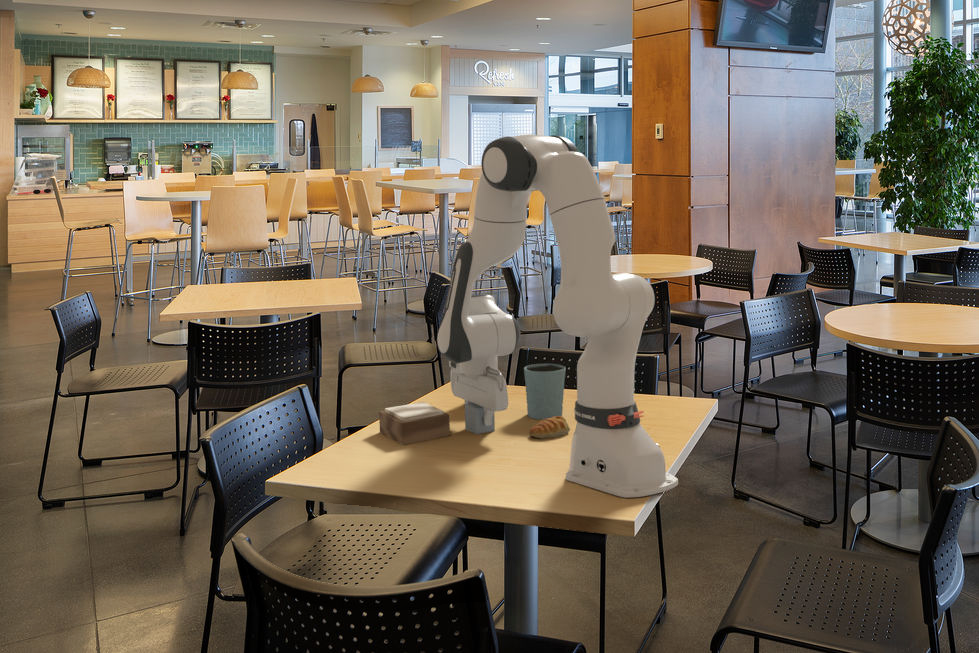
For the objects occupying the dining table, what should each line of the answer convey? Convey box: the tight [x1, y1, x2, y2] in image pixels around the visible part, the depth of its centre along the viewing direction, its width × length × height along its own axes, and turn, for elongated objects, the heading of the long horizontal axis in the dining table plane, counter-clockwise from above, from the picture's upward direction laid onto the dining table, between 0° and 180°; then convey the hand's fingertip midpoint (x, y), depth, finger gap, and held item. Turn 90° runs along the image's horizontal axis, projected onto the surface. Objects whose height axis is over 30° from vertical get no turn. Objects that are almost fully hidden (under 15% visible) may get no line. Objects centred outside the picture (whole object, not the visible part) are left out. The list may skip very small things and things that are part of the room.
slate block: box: [464, 403, 496, 435], centre depth 207 cm, size 5×5×6 cm
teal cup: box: [523, 363, 567, 421], centre depth 219 cm, size 10×10×12 cm
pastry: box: [529, 416, 571, 440], centre depth 203 cm, size 9×7×4 cm
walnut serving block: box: [378, 401, 451, 445], centre depth 205 cm, size 12×12×6 cm
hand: (479, 422), depth 208 cm, fingers closed on slate block, 5 cm apart
